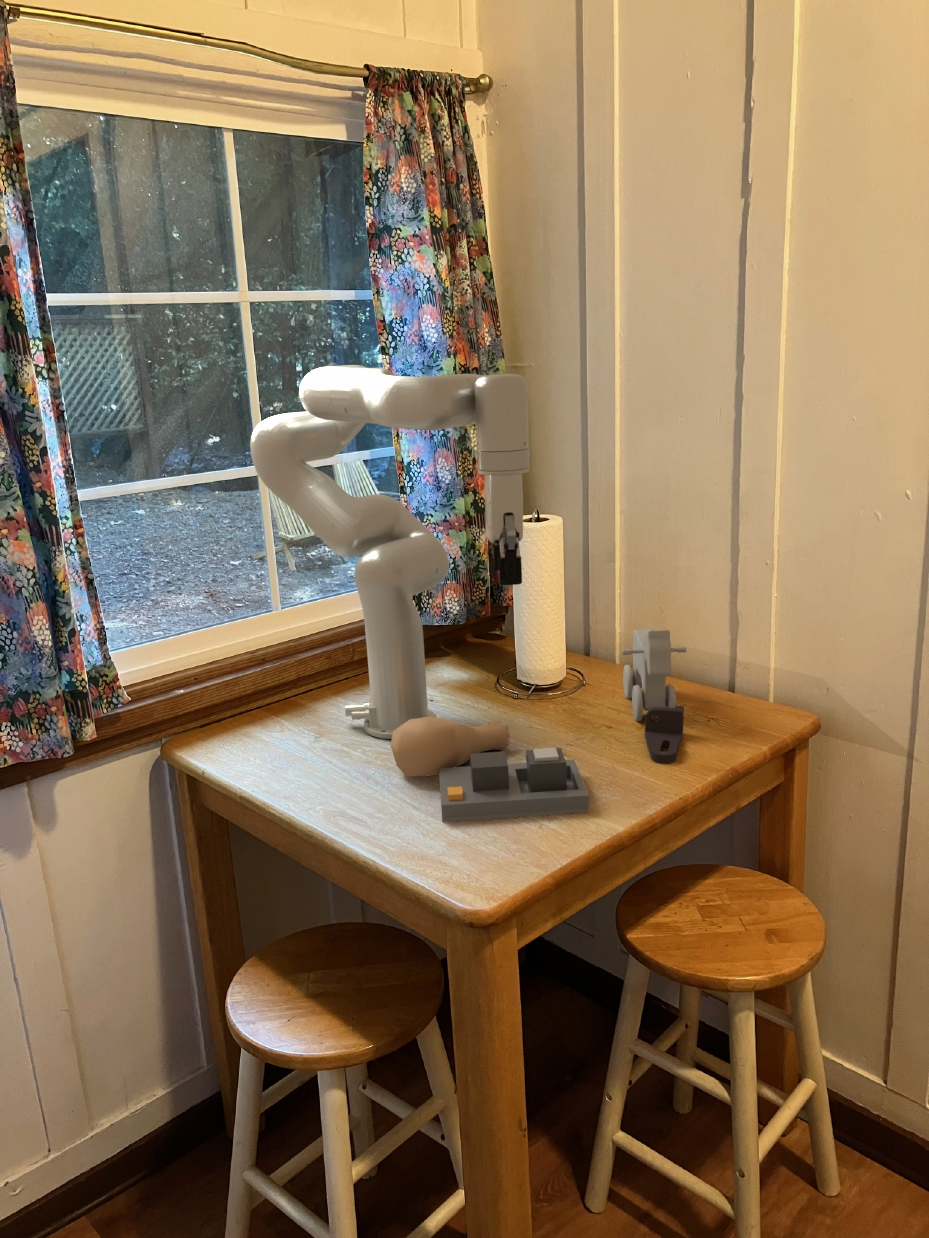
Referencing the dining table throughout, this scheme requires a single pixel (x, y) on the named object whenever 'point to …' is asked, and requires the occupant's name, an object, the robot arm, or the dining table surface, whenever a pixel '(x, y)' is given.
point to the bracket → (664, 733)
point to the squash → (442, 744)
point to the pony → (650, 671)
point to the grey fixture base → (504, 791)
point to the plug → (546, 770)
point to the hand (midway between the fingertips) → (507, 576)
